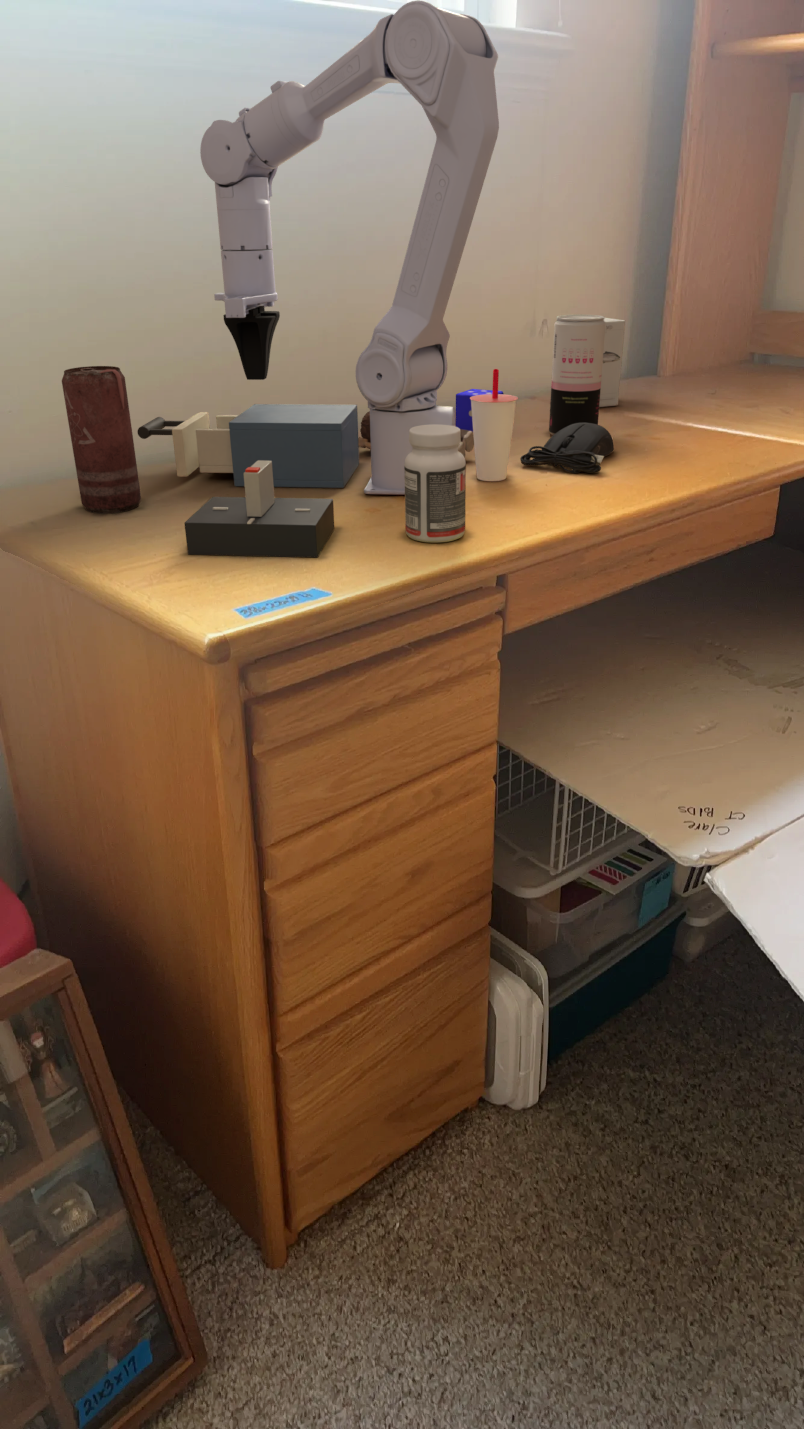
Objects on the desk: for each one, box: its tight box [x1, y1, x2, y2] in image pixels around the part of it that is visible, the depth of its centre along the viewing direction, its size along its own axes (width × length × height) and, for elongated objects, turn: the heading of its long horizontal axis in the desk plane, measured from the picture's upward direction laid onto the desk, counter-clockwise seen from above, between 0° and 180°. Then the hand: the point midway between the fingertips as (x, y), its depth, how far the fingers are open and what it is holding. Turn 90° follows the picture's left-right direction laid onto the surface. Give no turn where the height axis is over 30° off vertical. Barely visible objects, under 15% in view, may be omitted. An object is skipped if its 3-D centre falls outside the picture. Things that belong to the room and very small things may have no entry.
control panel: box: [183, 496, 335, 558], centre depth 92 cm, size 12×9×3 cm
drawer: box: [136, 411, 240, 477], centre depth 115 cm, size 16×10×5 cm, turn 84°
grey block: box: [244, 460, 275, 517], centre depth 91 cm, size 5×1×4 cm, turn 173°
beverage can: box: [548, 314, 606, 436], centre depth 131 cm, size 6×6×15 cm
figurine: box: [358, 410, 474, 459], centre depth 125 cm, size 8×5×15 cm
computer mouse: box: [519, 423, 615, 474], centre depth 121 cm, size 10×15×4 cm
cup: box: [470, 368, 519, 482], centre depth 111 cm, size 5×5×12 cm
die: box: [455, 388, 504, 431], centre depth 138 cm, size 5×5×5 cm
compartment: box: [229, 403, 360, 489], centre depth 114 cm, size 13×12×7 cm
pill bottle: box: [404, 424, 467, 544], centre depth 92 cm, size 6×6×10 cm
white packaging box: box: [599, 317, 626, 408], centre depth 152 cm, size 7×7×13 cm
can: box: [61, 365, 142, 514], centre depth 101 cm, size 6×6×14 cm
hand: (256, 378), depth 114 cm, fingers closed
